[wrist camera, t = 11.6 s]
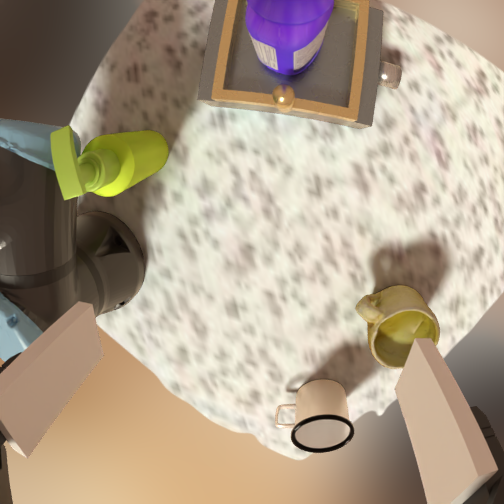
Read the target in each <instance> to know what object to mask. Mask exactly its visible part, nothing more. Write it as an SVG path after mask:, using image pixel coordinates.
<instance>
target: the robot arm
mask: <svg viewBox="0 0 504 504" xmlns="http://www.w3.org/2000/svg"><path fill="white" fill-rule="evenodd" d="M61 128H63V127H59V126H52V125H46V124H39V123H32V122H25V121H17V120H8V119H0V358H1V359H2V360H3V361H5V363H4V364H3V365H2V367H0V504H13V502H12V496H11V489H10V483H9V475H8V466H7V455H6V449H5V446H4V445H3V444H4V442H5V441H6V440H7V441H8V443H9V444H10V446H11V447H12V448H13V450H15V451H16V452H18V453H20V454H21V455H23V456H24V457H26V458H28V457H29V456H30V455H31V453H32V452H33V450H34V449H35V447H36V446H37V445H38V443H39V442H40V440H41V439H42V437H43V436H44V435H45V433H46V432H47V430H48V429H49V428H50V426H51V425H52V423H53V422H54V421H55V419H56V418H57V417H58V415H59V414H60V413H61V411H62V410H63V408H64V407H65V405H66V404H67V403H68V402H69V400H70V399H71V398H72V396H73V395H74V394H75V392H76V391H77V390H78V388H79V387H80V386H81V384H82V383H83V382H84V380H85V379H86V378H87V376H88V375H89V374H90V373H91V371H92V370H93V369H94V367H95V366H96V365H97V364H98V362H99V361H100V360H101V359H102V357H103V356H104V354H103V350H102V346H101V342H100V337H99V333H98V329H97V324H96V319H95V318H96V317H97V316H98V315H101V314H104V313H107V312H110V311H113V310H116V309H119V308H121V307H123V306H125V305H126V304H127V303H129V302H130V301H131V300H132V299H133V297H134V296H135V295H136V294H137V293H138V292H139V290H140V288H141V286H142V283H143V279H144V271H145V268H144V259H143V254H142V251H141V248H140V246H139V244H138V242H137V240H136V238H135V236H134V235H133V233H132V232H131V231H130V229H129V228H128V227H127V226H126V225H125V224H124V223H123V222H122V221H120V220H119V219H117V218H116V217H114V216H112V215H110V214H108V213H105V212H99V211H92V212H87V213H85V214H82V215H80V216H77V199H78V196H77V197H74V198H71V199H68V200H64V198H63V195H62V192H61V189H60V186H59V182H58V179H57V176H56V172H55V168H54V164H53V158H52V151H51V133H52V132H54V131H56V130H59V129H61ZM73 139H74V146H75V151H76V156H77V158H78V157H79V156H80V154H81V141H80V138H79V136H78V135H77V133H76V132H75V131H73ZM395 392H396V395H397V398H398V400H399V404H400V407H401V410H402V413H403V416H404V419H405V422H406V426H407V429H408V432H409V436H410V439H411V442H412V446H413V449H414V453H415V456H416V460H417V464H418V467H419V471H420V475H421V479H422V483H423V487H424V490H425V495H426V499H427V504H504V451H503V449H502V447H501V445H500V443H499V441H498V439H497V437H495V433H494V431H493V429H492V428H491V425H490V423H489V421H488V419H487V417H486V415H485V414H484V413H483V412H482V411H481V410H480V409H479V408H478V407H477V406H475V407H469V405H468V403H467V401H466V400H465V398H464V396H463V394H462V392H461V390H460V389H459V387H458V385H457V383H456V381H455V379H454V377H453V376H452V374H451V372H450V370H449V368H448V367H447V365H446V363H445V362H444V360H443V358H442V356H441V354H440V353H439V351H438V349H437V348H436V346H435V344H434V343H433V341H432V339H431V338H415V339H414V342H413V345H412V348H411V350H410V353H409V355H408V358H407V361H406V363H405V366H404V368H403V371H402V373H401V375H400V378H399V380H398V383H397V385H396V387H395Z"/></svg>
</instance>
